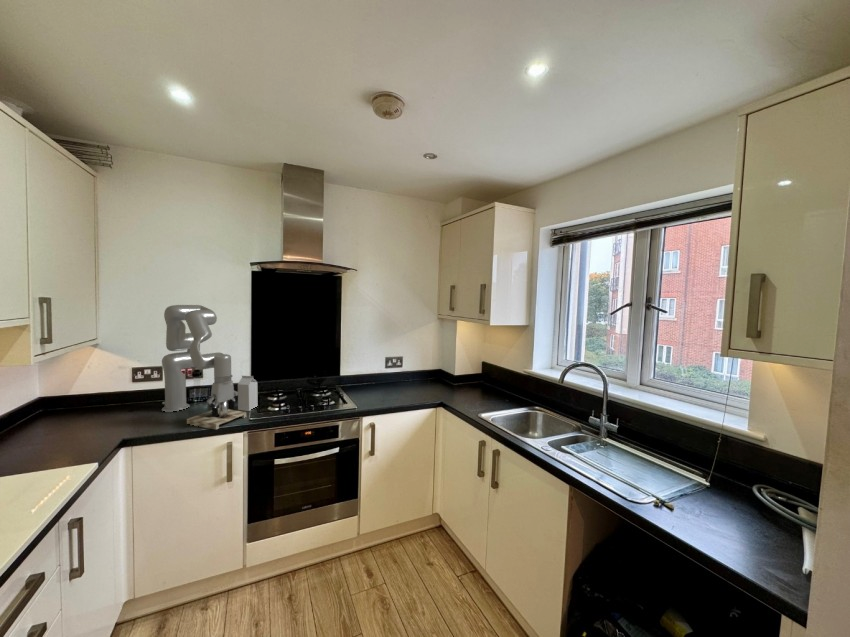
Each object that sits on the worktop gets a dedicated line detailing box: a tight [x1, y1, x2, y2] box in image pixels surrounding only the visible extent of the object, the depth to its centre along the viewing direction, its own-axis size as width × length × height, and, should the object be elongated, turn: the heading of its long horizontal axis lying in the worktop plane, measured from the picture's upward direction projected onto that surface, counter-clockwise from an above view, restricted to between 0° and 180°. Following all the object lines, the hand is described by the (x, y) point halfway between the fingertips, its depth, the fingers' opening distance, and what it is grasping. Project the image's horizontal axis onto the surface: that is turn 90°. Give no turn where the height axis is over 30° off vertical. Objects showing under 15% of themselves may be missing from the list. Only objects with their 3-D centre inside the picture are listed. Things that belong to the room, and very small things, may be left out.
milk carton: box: [237, 375, 259, 412], centre depth 192 cm, size 7×7×19 cm
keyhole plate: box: [186, 407, 247, 430], centre depth 173 cm, size 19×18×3 cm
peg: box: [218, 401, 231, 425], centre depth 172 cm, size 6×6×11 cm
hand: (223, 412), depth 172 cm, fingers open, 9 cm apart
